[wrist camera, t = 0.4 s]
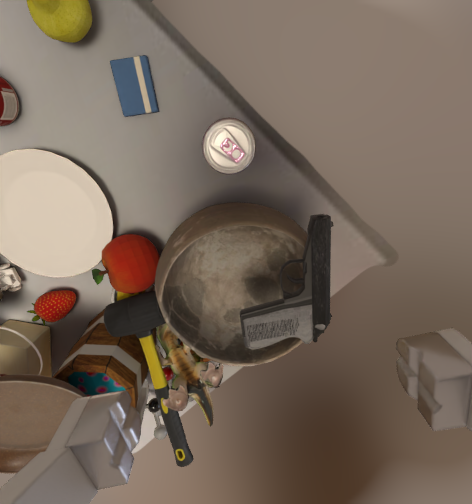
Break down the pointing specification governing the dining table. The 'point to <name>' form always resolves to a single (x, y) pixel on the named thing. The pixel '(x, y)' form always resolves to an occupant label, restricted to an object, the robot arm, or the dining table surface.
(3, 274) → the toy car
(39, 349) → the cream rectangular block
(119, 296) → the supplement bottle
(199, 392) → the toy
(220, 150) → the beverage can
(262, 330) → the handgun
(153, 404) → the molecular model
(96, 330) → the mug
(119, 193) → the dining table surface
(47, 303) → the fruit
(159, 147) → the dining table surface
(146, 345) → the mallet
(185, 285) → the bowl
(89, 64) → the dining table surface
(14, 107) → the soda can
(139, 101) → the notebook
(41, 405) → the plant saucer
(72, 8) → the fruit
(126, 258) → the fruit
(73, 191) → the plate
